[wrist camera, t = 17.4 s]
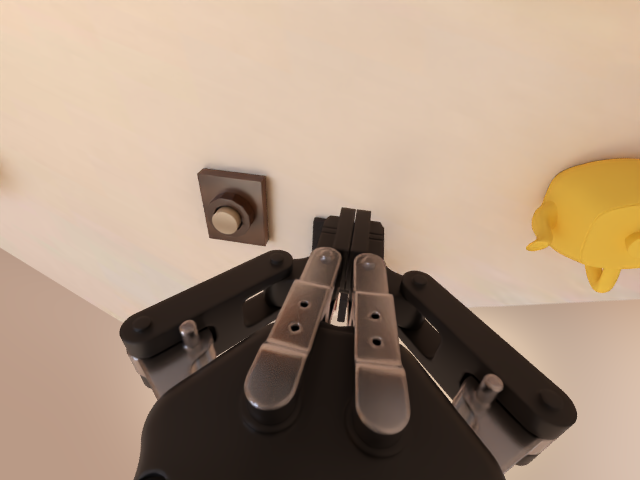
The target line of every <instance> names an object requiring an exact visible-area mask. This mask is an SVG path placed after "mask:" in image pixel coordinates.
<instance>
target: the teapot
mask: <svg viewBox="0 0 640 480" xmlns="http://www.w3.org/2000/svg"><path fill="white" fill-rule="evenodd" d="M532 229H533V231H534V233H535V235H536V237H537V239H536V240H535V241H534V242H532V243H530V244H529V245H528V246H527V247H526V250H528V251H537V250H541V249H544V248H546V247H548V246H551V247H552V248H553V249H554V250H555V251H557V252H559V253H560V254H562V255H564V256H566V257H568V258H570V259H572V260H575V261H577V262H579V263H582V264H584V265H585V269H586V274H587V277H588V280H589V283H590V285H591V287H592V288H593V289H594V290H595V291H596V292H599V293H605V292H608V291H610V290H611V289H612V288H613V286H614V285H615V283H616V281H617V279H618V276H619V274H620V271H621V269H632V268H640V159H630V158H620V159H608V160H601V161H595V162H590V163H586V164H582V165H578V166H574V167H572V168H569V169H567V170H564V171H562V172H561V173H559V174H558V175H557V176H556V177H555V178H554V179H553V180H552V182H551V184H550V186H549V188H548V190H547V192H546V195H545V197H544V200H543V203H542V206H540V207H539V208H538V209H537V210H536V211H535V213H534V215H533V218H532ZM602 268H604V269H603V271H602Z"/></svg>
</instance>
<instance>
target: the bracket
mask: <svg viewBox="0 0 640 480" xmlns="http://www.w3.org/2000/svg"><path fill="white" fill-rule="evenodd" d="M325 220H326V219H323V218H316V217H315V218H314V221H313V243H312V251H313V250H315V249H316V248H317V245H318V241H319V238H320V235H321V231H322V228H323V225H324V221H325ZM354 226H355V223H354ZM354 226H353V232H354ZM352 239H353V233H352ZM351 246H352V240H351ZM350 252H351V247H350ZM349 259H350V253H349ZM348 267H349V260H348V266H347V273H346V279H345V280H347V274H348ZM347 304H348V294H346V293H341V296H340V303H339V311H338V319H337V321H339V322H344V321H345V314H346V307H347Z"/></svg>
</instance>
